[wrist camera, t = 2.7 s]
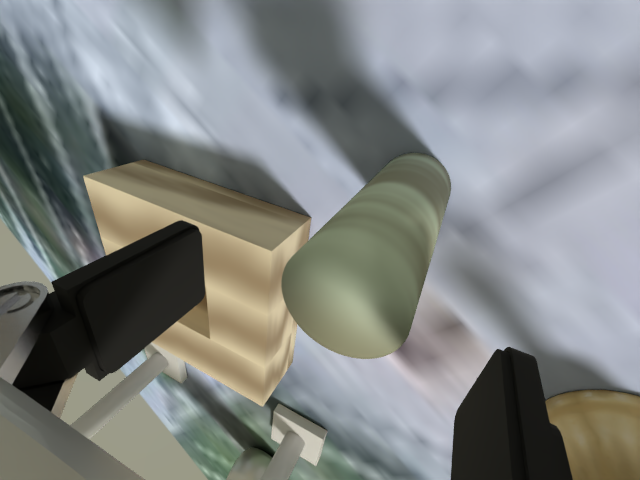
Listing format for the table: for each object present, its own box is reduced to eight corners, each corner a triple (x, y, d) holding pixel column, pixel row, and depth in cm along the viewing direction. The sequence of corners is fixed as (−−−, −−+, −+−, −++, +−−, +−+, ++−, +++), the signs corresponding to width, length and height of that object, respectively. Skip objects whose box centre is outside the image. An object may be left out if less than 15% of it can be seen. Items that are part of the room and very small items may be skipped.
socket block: (143, 159, 26) (83, 175, 22) (311, 217, 22) (271, 251, 18) (168, 298, 35) (127, 328, 31) (292, 362, 30) (262, 406, 26)
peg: (387, 144, 17) (286, 223, 9) (462, 163, 16) (432, 277, 7) (372, 209, 19) (277, 324, 11) (436, 229, 18) (390, 378, 9)
